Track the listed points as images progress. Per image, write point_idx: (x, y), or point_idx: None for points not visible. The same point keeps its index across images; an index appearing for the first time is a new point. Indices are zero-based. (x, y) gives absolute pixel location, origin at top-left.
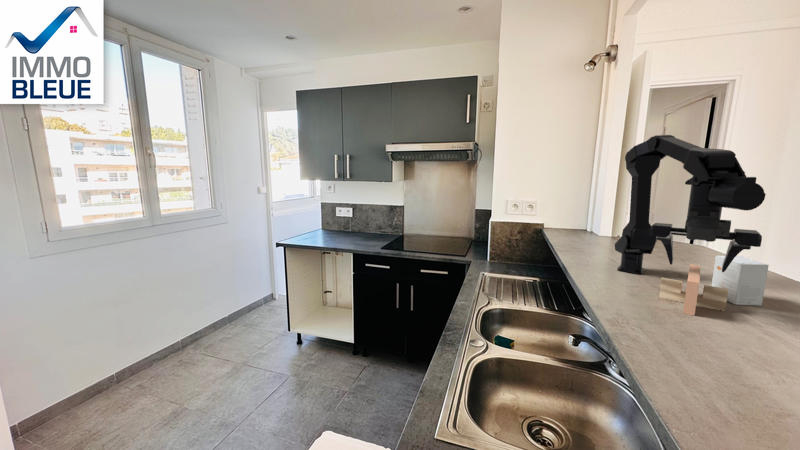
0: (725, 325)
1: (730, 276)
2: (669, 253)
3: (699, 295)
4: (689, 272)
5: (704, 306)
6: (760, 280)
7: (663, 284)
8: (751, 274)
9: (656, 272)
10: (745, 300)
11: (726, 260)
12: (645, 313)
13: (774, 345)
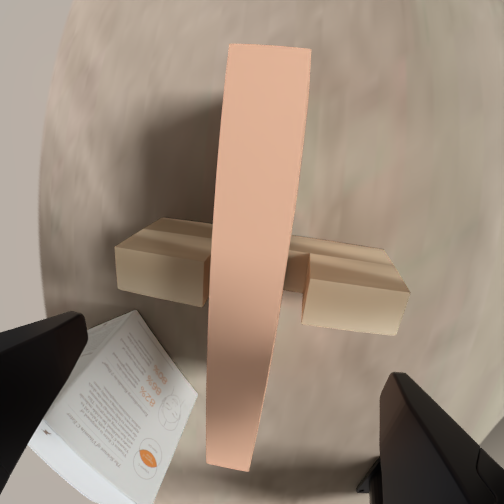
0: (176, 59)
1: (112, 402)
2: (455, 441)
3: None
4: (270, 329)
5: None
6: None
7: (390, 279)
8: None
9: (326, 483)
10: (108, 325)
11: (4, 348)
12: (434, 24)
13: (94, 6)
